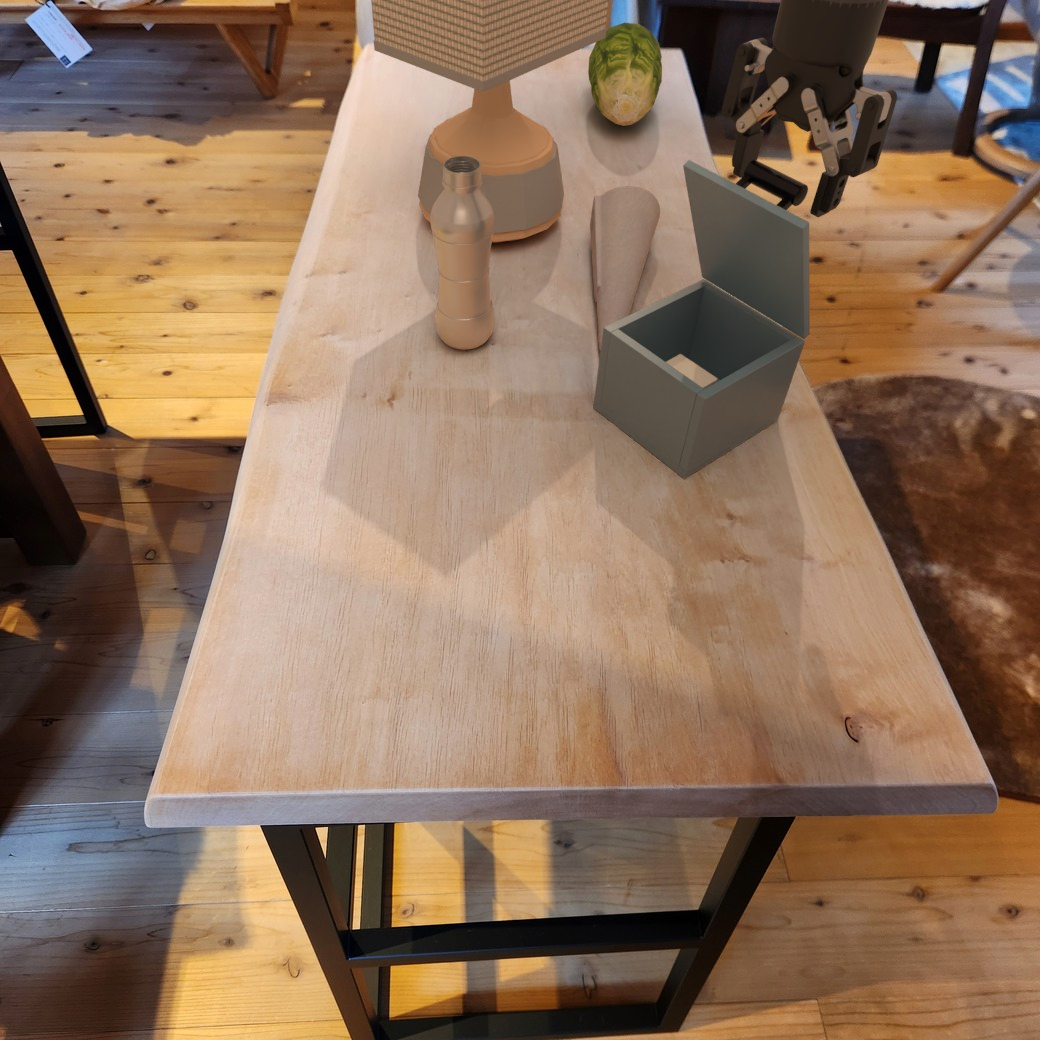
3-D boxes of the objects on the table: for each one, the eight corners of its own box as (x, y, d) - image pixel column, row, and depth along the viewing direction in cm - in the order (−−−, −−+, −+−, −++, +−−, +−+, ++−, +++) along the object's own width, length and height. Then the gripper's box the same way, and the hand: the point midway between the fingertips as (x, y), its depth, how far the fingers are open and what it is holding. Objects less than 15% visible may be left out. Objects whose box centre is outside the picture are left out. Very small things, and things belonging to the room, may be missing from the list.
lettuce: (583, 143, 128) (591, 64, 120) (585, 88, 142) (592, 13, 133) (659, 148, 128) (672, 69, 119) (654, 92, 142) (665, 17, 133)
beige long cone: (685, 335, 89) (665, 187, 104) (603, 331, 89) (595, 183, 104) (670, 386, 96) (654, 240, 110) (594, 383, 95) (587, 237, 110)
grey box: (684, 479, 81) (705, 399, 74) (592, 407, 88) (603, 327, 80) (778, 420, 87) (805, 340, 80) (685, 357, 94) (703, 278, 86)
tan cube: (708, 417, 86) (718, 378, 82) (674, 438, 84) (683, 399, 80) (672, 392, 88) (680, 353, 85) (638, 411, 86) (645, 372, 82)
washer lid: (802, 228, 67) (846, 186, 67) (682, 165, 73) (722, 127, 74) (804, 339, 80) (840, 304, 80) (701, 277, 86) (735, 244, 87)
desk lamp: (490, 166, 122) (493, -154, 95) (597, 212, 115) (633, -122, 87) (381, 222, 111) (349, -123, 83) (491, 277, 103) (496, -84, 76)
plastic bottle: (505, 334, 96) (510, 160, 81) (471, 365, 92) (469, 188, 77) (459, 314, 98) (454, 142, 83) (423, 344, 94) (412, 168, 79)
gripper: (954, -1, 60) (874, 214, 72) (794, -53, 67) (745, 151, 79) (892, 20, 56) (819, 241, 69) (730, -37, 64) (690, 173, 76)
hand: (780, 193), depth 74 cm, fingers open, 8 cm apart
